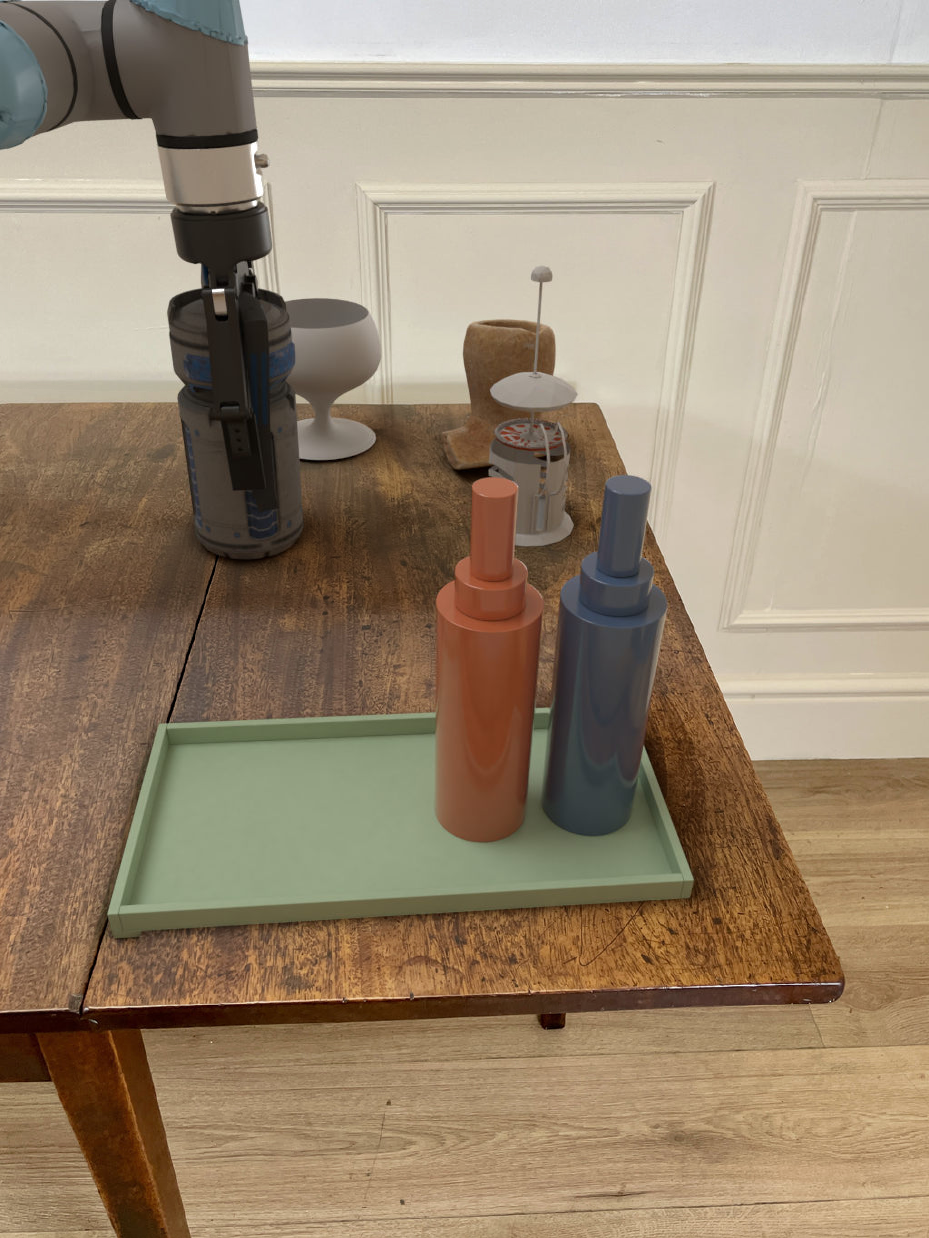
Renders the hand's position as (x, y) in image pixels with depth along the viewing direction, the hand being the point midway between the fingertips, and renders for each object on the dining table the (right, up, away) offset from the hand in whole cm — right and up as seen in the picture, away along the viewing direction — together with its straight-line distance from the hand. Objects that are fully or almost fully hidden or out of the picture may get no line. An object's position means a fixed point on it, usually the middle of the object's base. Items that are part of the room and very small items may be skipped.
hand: (257, 455), depth 85 cm
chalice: (+2, +6, +25) cm, 26 cm away
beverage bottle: (-1, -8, +5) cm, 9 cm away
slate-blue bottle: (+27, -27, -24) cm, 45 cm away
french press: (+25, -6, +9) cm, 27 cm away
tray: (+15, -28, -24) cm, 40 cm away
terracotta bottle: (+20, -27, -24) cm, 41 cm away
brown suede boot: (+23, +4, +24) cm, 33 cm away
